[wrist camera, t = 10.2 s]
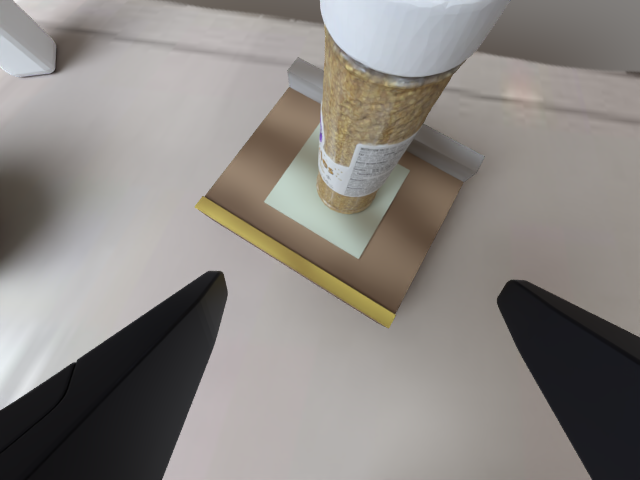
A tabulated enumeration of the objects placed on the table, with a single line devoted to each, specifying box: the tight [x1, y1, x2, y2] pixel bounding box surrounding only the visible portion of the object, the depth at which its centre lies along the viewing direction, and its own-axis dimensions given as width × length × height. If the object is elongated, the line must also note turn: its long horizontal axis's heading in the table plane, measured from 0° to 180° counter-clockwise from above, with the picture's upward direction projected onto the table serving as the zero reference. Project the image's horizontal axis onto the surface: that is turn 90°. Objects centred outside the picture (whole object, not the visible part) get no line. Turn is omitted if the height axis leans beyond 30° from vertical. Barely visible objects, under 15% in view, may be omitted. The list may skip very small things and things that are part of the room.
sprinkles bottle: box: [316, 0, 511, 214], centre depth 11 cm, size 5×5×14 cm
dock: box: [195, 57, 485, 328], centre depth 19 cm, size 14×16×4 cm
